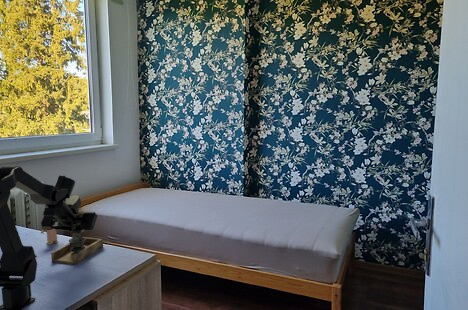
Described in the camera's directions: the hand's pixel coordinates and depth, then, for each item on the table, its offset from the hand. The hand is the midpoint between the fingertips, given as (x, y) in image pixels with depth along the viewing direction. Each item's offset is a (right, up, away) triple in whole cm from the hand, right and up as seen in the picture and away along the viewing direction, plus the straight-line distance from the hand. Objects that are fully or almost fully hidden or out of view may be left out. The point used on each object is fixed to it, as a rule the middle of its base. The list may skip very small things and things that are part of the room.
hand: (78, 230), depth 132 cm
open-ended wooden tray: (0, -9, 0) cm, 9 cm away
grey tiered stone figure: (0, -7, 0) cm, 7 cm away
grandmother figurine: (-16, -8, +11) cm, 21 cm away
